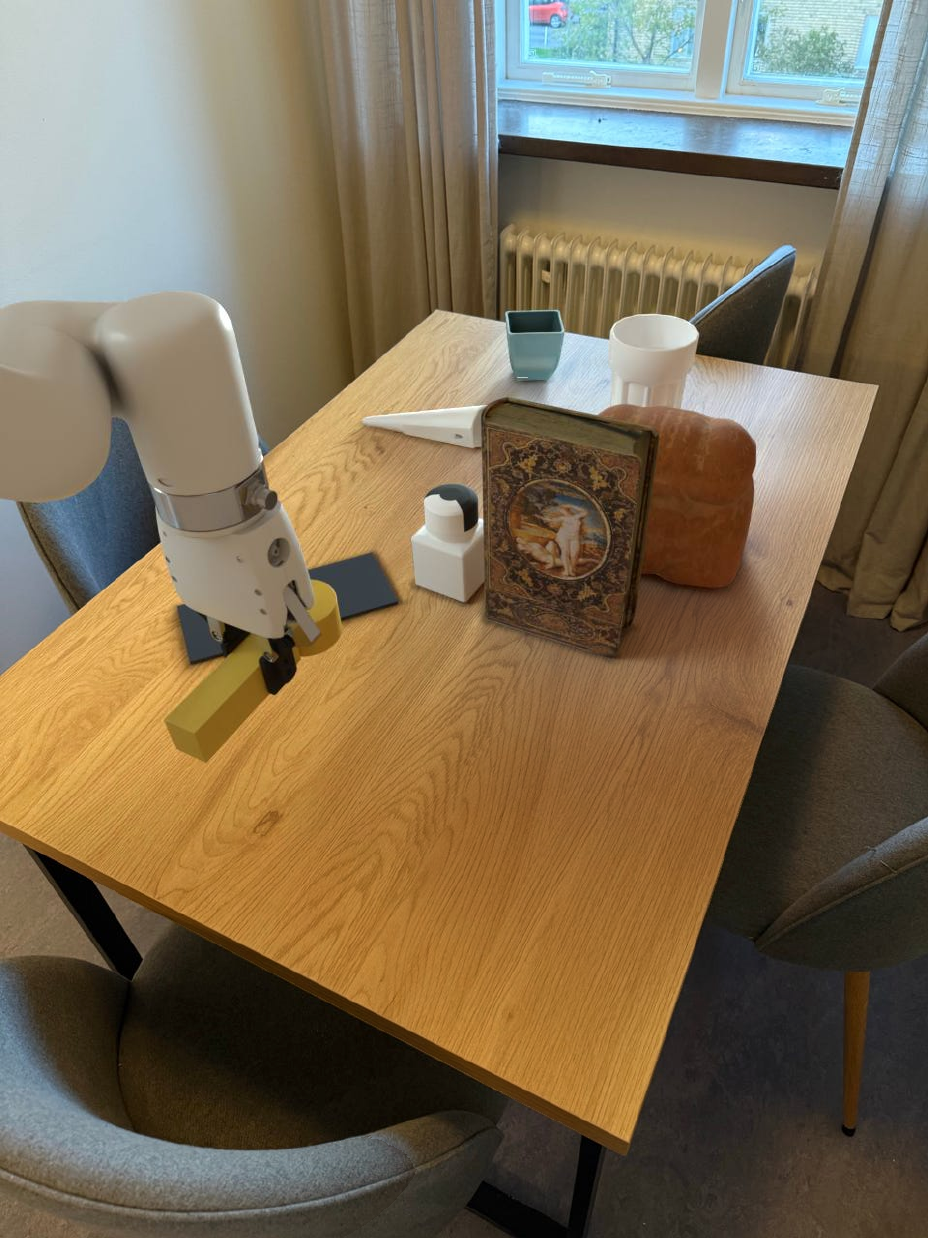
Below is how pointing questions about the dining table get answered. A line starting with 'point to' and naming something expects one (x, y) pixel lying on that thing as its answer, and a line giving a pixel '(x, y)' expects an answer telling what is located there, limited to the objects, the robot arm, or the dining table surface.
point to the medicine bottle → (450, 543)
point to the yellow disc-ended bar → (241, 685)
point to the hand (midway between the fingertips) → (264, 673)
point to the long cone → (436, 424)
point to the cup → (651, 360)
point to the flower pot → (534, 343)
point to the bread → (696, 494)
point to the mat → (350, 579)
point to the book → (564, 520)
